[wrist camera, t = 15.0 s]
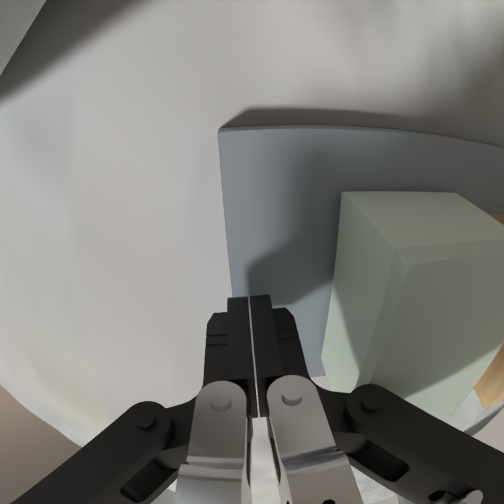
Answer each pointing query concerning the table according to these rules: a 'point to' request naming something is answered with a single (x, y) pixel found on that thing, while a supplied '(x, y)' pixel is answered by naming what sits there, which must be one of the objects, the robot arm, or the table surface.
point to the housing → (415, 297)
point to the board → (327, 203)
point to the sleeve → (492, 369)
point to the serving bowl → (15, 25)
